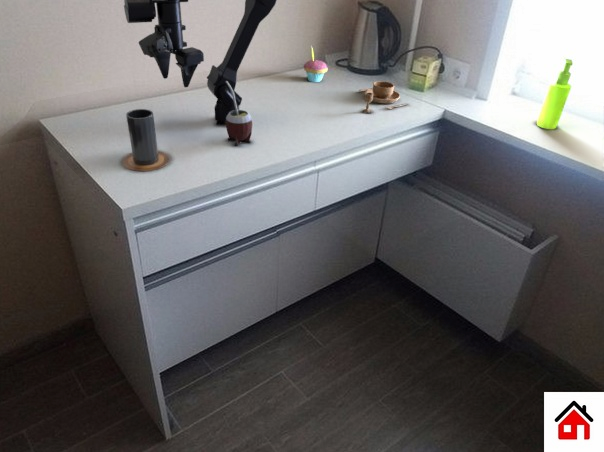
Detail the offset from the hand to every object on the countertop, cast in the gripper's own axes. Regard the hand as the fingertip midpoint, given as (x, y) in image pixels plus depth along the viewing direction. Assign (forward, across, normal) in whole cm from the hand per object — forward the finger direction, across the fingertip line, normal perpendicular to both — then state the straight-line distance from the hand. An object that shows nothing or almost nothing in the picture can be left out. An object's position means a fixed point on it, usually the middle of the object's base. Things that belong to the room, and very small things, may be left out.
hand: (175, 82), depth 133 cm
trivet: (+13, +11, -18) cm, 25 cm away
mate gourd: (+13, +17, +6) cm, 23 cm away
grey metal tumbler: (+13, +11, -18) cm, 25 cm away
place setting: (+13, +23, +62) cm, 67 cm away
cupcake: (+13, -4, +62) cm, 64 cm away
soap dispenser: (+13, +72, +87) cm, 114 cm away
